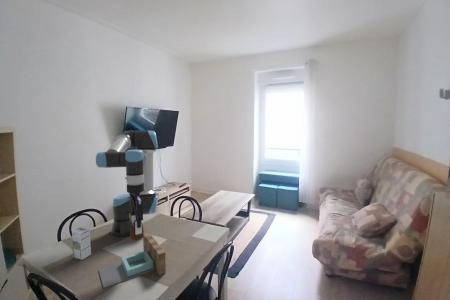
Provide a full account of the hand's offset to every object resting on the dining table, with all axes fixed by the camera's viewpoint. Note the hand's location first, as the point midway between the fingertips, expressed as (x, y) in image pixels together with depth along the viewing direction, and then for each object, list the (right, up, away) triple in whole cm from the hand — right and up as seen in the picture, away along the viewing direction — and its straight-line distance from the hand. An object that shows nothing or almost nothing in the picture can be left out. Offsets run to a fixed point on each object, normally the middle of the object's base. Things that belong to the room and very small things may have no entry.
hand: (136, 230), depth 108 cm
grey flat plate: (-4, -18, -1) cm, 19 cm away
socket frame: (0, -18, +2) cm, 18 cm away
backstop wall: (+6, -18, +7) cm, 20 cm away
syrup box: (-32, -17, +10) cm, 37 cm away
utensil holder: (0, -4, 0) cm, 4 cm away
